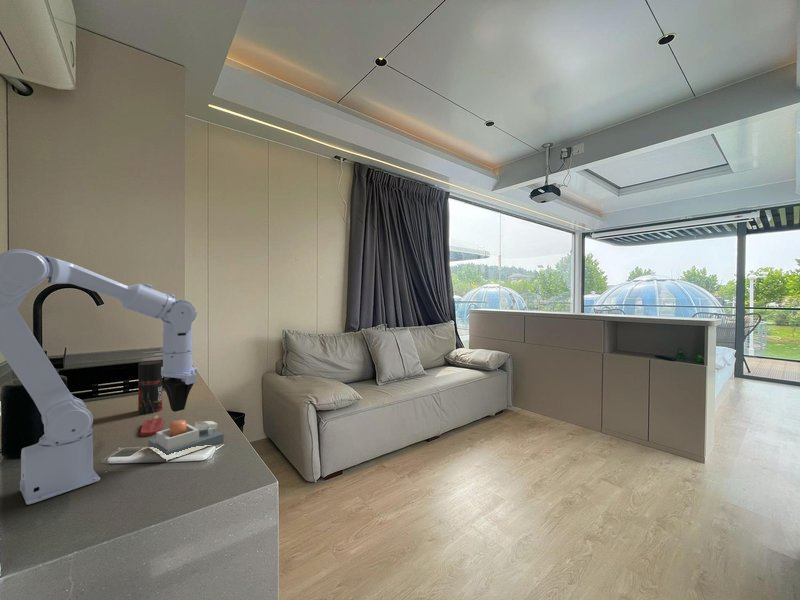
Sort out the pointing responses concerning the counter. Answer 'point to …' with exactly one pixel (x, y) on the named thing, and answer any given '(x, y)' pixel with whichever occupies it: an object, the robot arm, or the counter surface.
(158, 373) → the deodorant
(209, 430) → the breaker panel
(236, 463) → the counter surface
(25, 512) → the counter surface
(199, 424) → the rocker
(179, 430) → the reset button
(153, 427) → the popsicle
